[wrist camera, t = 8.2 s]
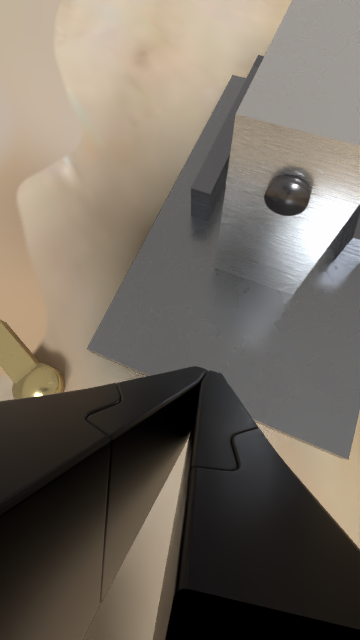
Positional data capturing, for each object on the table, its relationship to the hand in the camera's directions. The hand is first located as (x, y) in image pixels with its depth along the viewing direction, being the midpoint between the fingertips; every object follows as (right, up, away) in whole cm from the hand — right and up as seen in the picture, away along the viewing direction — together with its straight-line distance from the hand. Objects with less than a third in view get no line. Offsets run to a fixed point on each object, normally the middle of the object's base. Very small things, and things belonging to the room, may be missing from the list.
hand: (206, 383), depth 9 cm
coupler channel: (+7, +9, +16) cm, 20 cm away
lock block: (+8, +11, +16) cm, 21 cm away
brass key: (-12, -1, +13) cm, 18 cm away
